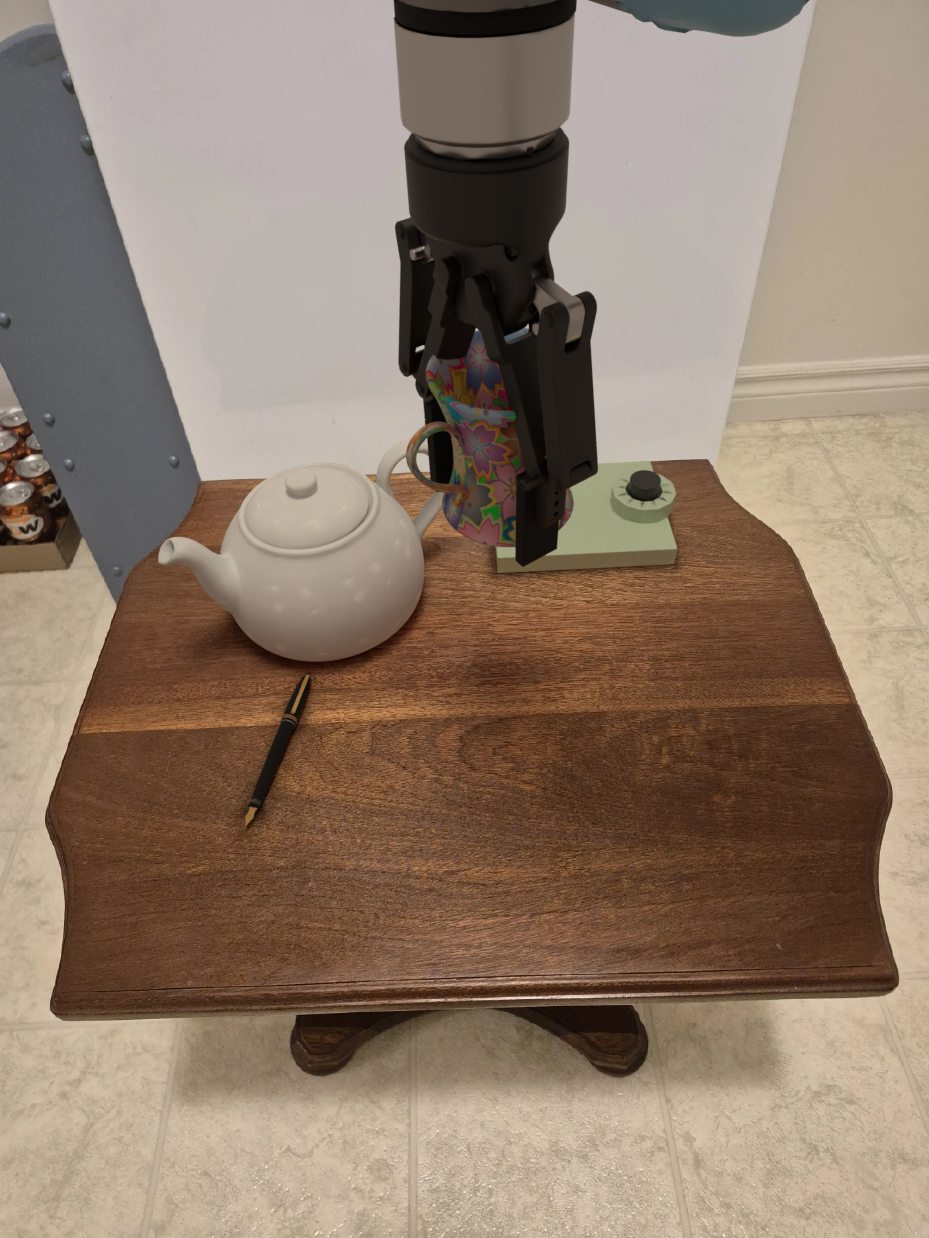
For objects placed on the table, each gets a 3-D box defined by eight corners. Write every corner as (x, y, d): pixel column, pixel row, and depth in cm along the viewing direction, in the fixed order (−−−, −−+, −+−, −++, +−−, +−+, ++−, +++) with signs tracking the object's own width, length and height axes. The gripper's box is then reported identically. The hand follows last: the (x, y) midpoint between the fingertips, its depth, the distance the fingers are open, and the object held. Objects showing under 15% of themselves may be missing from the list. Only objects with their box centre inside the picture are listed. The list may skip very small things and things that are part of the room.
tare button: (655, 482, 79) (657, 469, 78) (661, 501, 77) (663, 487, 76) (625, 484, 79) (627, 470, 78) (631, 502, 77) (632, 489, 76)
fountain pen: (254, 834, 59) (250, 823, 58) (239, 832, 59) (234, 821, 58) (317, 677, 69) (314, 665, 68) (304, 675, 69) (300, 663, 68)
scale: (656, 475, 85) (661, 446, 83) (683, 563, 76) (690, 534, 74) (489, 484, 85) (488, 455, 83) (497, 573, 76) (497, 544, 74)
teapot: (403, 694, 67) (386, 570, 57) (192, 658, 70) (140, 535, 61) (459, 541, 79) (452, 416, 69) (276, 516, 83) (245, 395, 73)
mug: (512, 453, 60) (513, 310, 52) (608, 516, 55) (626, 368, 47) (375, 528, 55) (353, 382, 47) (467, 604, 50) (460, 456, 42)
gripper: (723, 175, 33) (650, 582, 50) (423, 64, 45) (444, 422, 62) (579, 226, 31) (552, 640, 47) (300, 93, 43) (357, 460, 59)
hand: (491, 516), depth 55 cm, fingers closed on mug, 8 cm apart
